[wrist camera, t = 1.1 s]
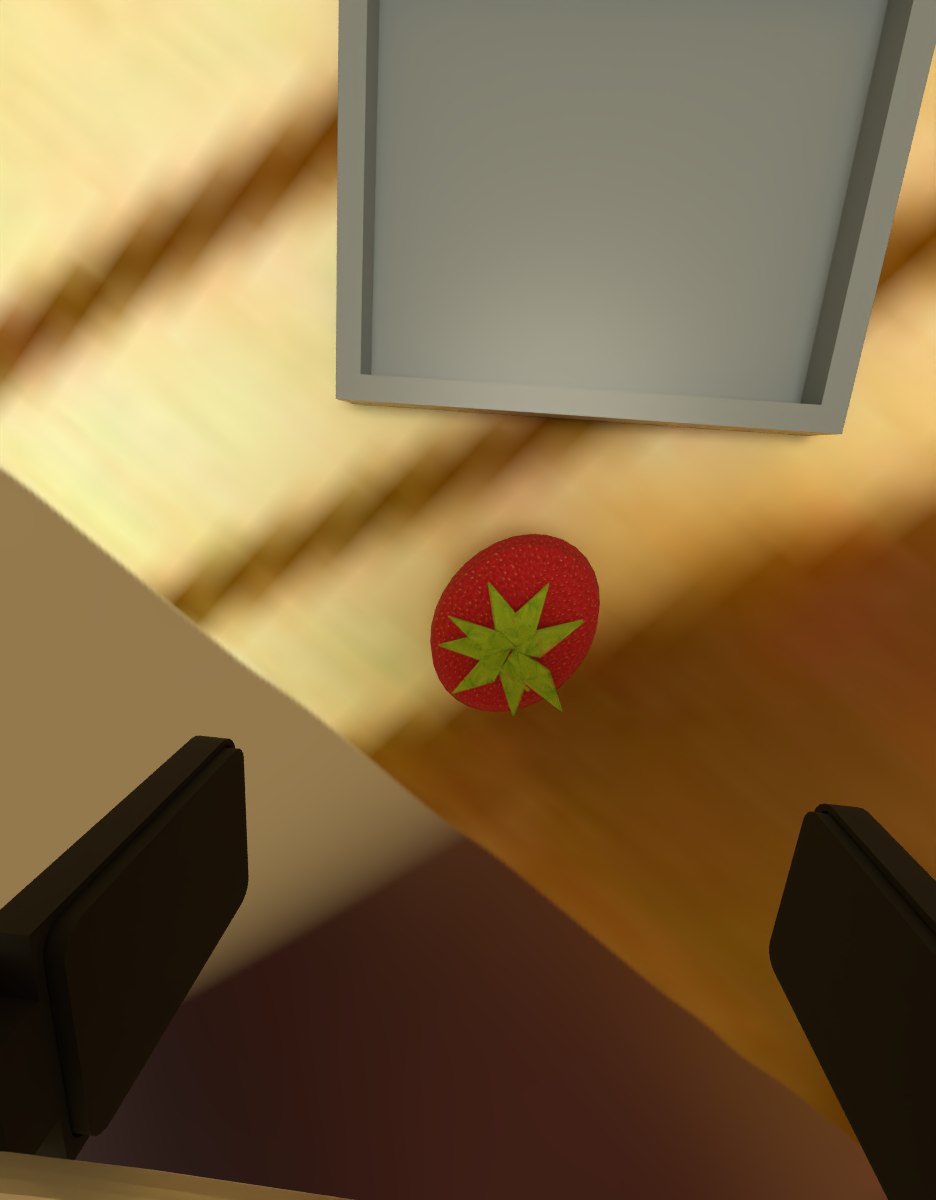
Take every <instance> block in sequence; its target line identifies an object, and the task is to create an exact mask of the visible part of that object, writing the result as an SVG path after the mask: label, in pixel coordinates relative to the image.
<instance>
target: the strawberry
mask: <svg viewBox="0 0 936 1200" xmlns="http://www.w3.org/2000/svg"><path fill="white" fill-rule="evenodd" d="M599 605H600V601H599V586H598V583H597V579H596V576H595V572H594V570H593V569H592V567H591V565H590V563H589V562H588V560H587V558H586V557H585V556H584V555H583V554H582V553H581V552H580V551H579V550H578V549H577V548H576V547H574V546H572V545H571V544H569V543H567V542H566V541H564V540H562V539H559V538H555V537H552V536H548V535H537V534H528V535H521V536H515V537H511V538H508V539H505V540H503V541H500V542H497V543H495V544H493V545H491V546H489V547H488V548H486V549H484V550H482V551H481V552H479V553H478V554H477V555H475V556H474V557H473V558H472V559H470V560H469V561H468V562H467V563H465V564H464V566H463V567H462V568H461V569H460V570H459V571H458V572H457V573H456V574H455V575H454V577H453V578H452V579H451V581H450V582H449V584H448V585H447V587H446V589H445V590H444V592H443V593H442V596H441V598H440V600H439V602H438V605H437V607H436V609H435V613H434V617H433V621H432V625H431V640H430V643H431V650H432V657H433V664H434V667H435V670H436V673H437V675H438V678H439V680H440V681H441V683H442V684H443V686H444V687H445V689H446V690H447V691H448V692H449V693H450V694H451V695H452V696H453V697H454V698H455V699H456V700H458V701H460V702H462V703H463V704H465V705H467V706H469V707H472V708H475V709H479V710H482V711H493V712H501V711H510V710H511V713H512V716H514V715H515V713H516V711H517V709H519V708H522V707H525V706H529V705H531V704H533V703H535V702H537V701H539V700H541V699H543V698H544V699H545V700H547V701H548V702H549V703H551V704H552V705H553V706H555V707H556V708H557V709H558V710H560V711H561V712H562V711H563V709H562V706H561V703H560V700H559V697H558V694H557V691H556V689H558V688H559V687H560V686H561V685H562V684H563V683H564V682H565V681H566V680H567V679H568V678H569V677H571V676H572V674H573V673H574V672H575V670H576V669H577V668H578V666H579V665H580V664H581V662H582V661H583V659H584V657H585V656H586V654H587V652H588V650H589V648H590V646H591V644H592V641H593V638H594V635H595V632H596V628H597V621H598V614H599Z"/></svg>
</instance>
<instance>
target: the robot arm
mask: <svg viewBox="0 0 936 1200" xmlns="http://www.w3.org/2000/svg"><path fill="white" fill-rule="evenodd" d="M247 886H248V854H247V829H246V804H245V778H244V756H243V752H242V750H240V749H236V748H235V745H234V743H233V741H232V740H231V739H226V738H217V737H207V736H195V737H193V738H192V739H191V740H189V741H188V742H187V743H186V744H185V745H184V746H183V747H182V748H180V749H179V750H178V751H177V752H176V753H175V754H174V755H173V756H172V757H171V758H169V759H168V760H167V761H166V762H165V763H164V764H163V765H161V766H160V767H159V768H158V769H157V770H156V771H155V772H154V773H153V774H151V775H150V776H149V777H148V778H147V779H146V780H145V781H144V782H143V783H141V784H140V785H139V786H138V787H137V788H136V789H135V790H134V791H133V792H131V793H130V794H129V795H128V796H127V797H126V798H125V799H123V800H122V801H121V802H120V803H119V804H118V805H117V806H116V807H115V808H113V809H112V810H111V811H110V812H109V813H108V814H107V815H106V816H104V817H103V819H101V820H100V821H99V822H98V823H97V824H96V825H94V826H93V827H92V828H91V829H90V830H89V831H88V832H87V833H86V834H84V835H83V836H82V837H81V838H80V839H79V840H78V841H77V842H75V843H74V844H73V845H72V846H71V847H70V848H69V849H68V850H67V851H65V852H64V853H63V854H62V855H61V856H60V857H59V858H58V859H56V860H55V861H54V862H53V863H52V864H51V865H50V866H49V867H47V868H46V869H45V870H44V871H43V872H42V873H41V874H40V875H39V876H37V877H36V878H35V879H34V880H33V881H32V882H31V883H30V884H29V885H27V886H26V887H25V888H24V889H23V890H22V891H21V892H20V893H18V894H17V895H16V896H15V897H14V898H13V899H12V900H11V901H10V902H8V903H7V904H6V905H5V906H4V907H3V908H2V909H1V910H0V1200H351V1199H344V1198H337V1197H331V1196H323V1195H317V1194H311V1193H304V1192H297V1191H290V1190H283V1189H277V1188H270V1187H263V1186H256V1185H250V1184H243V1183H237V1182H230V1181H223V1180H216V1179H210V1178H202V1177H196V1176H190V1175H182V1174H176V1173H169V1172H163V1171H156V1170H148V1169H140V1168H132V1167H124V1166H116V1165H108V1164H100V1163H92V1162H84V1161H76V1160H75V1159H76V1157H77V1155H78V1154H79V1152H80V1151H81V1149H82V1147H83V1146H84V1144H85V1143H86V1141H87V1139H88V1138H89V1136H90V1135H91V1136H97V1135H99V1134H101V1133H102V1132H103V1131H104V1129H105V1128H106V1127H107V1126H108V1124H109V1123H110V1121H111V1120H112V1119H113V1117H114V1115H115V1114H116V1112H117V1110H118V1109H119V1107H120V1105H121V1103H122V1102H123V1100H124V1098H125V1097H126V1095H127V1094H128V1092H129V1090H130V1089H131V1087H132V1085H133V1084H134V1081H135V1080H136V1078H137V1077H138V1075H139V1074H140V1072H141V1070H142V1069H143V1067H144V1065H145V1063H146V1062H147V1060H148V1059H149V1057H150V1055H151V1054H152V1052H153V1050H154V1048H155V1047H156V1045H157V1044H158V1042H159V1040H160V1039H161V1037H162V1035H163V1033H164V1032H165V1030H166V1029H167V1027H168V1025H169V1023H170V1022H171V1020H172V1018H173V1017H174V1015H175V1014H176V1012H177V1010H178V1009H179V1007H180V1005H181V1004H182V1002H183V1000H184V998H185V997H186V995H187V994H188V992H189V990H190V989H191V987H192V985H193V984H194V982H195V980H196V979H197V977H198V975H199V974H200V972H201V970H202V968H203V967H204V965H205V963H206V962H207V960H208V958H209V957H210V955H211V954H212V952H213V950H214V949H215V947H216V945H217V944H218V942H219V940H220V938H221V937H222V935H223V934H224V932H225V930H226V929H227V927H228V925H229V924H230V922H231V920H232V918H233V917H234V915H235V914H236V912H237V910H238V909H239V907H240V905H241V903H242V901H243V899H244V897H245V894H246V891H247ZM769 955H770V961H771V965H772V968H773V970H774V972H775V974H776V976H777V978H778V980H779V982H780V984H781V986H782V988H783V990H784V992H785V994H786V996H787V998H788V1000H789V1002H790V1004H791V1006H792V1008H793V1010H794V1012H795V1014H796V1016H797V1018H798V1020H799V1022H800V1024H801V1026H802V1028H803V1030H804V1032H805V1034H806V1036H807V1038H808V1040H809V1042H810V1044H811V1046H812V1048H813V1050H814V1052H815V1054H816V1056H817V1058H818V1060H819V1062H820V1064H821V1066H822V1068H823V1070H824V1072H825V1074H826V1076H827V1078H828V1080H829V1082H830V1084H831V1086H832V1088H833V1090H834V1092H835V1094H836V1096H837V1098H838V1100H839V1102H840V1104H841V1106H842V1108H843V1110H844V1112H845V1114H846V1116H847V1118H848V1120H849V1122H850V1124H851V1126H852V1128H853V1130H854V1132H855V1134H856V1136H857V1138H858V1140H859V1142H860V1144H861V1146H862V1148H863V1150H864V1152H865V1154H866V1156H867V1158H868V1160H869V1162H870V1164H871V1166H872V1168H873V1170H874V1172H875V1174H876V1176H877V1178H878V1180H879V1182H880V1184H881V1186H882V1188H883V1190H884V1192H885V1194H886V1196H887V1198H888V1200H936V881H935V880H934V879H933V878H932V877H931V876H930V875H929V874H928V873H927V872H926V871H925V870H924V869H923V868H922V867H921V866H920V865H919V864H918V863H917V862H916V861H915V860H914V859H913V858H912V857H911V856H910V855H909V854H908V852H907V851H906V850H905V849H904V848H903V847H902V846H901V845H900V844H899V843H898V842H897V841H896V840H895V839H894V838H893V837H892V836H891V835H890V834H889V833H888V832H887V831H886V830H885V829H884V828H883V827H882V826H881V825H880V824H879V823H878V822H877V821H876V820H875V819H874V818H873V817H872V816H871V815H870V814H869V813H868V812H867V811H866V810H864V809H862V808H858V807H850V806H841V805H832V804H821V805H819V806H818V807H817V808H816V809H815V811H814V812H808V813H807V814H806V815H805V817H804V819H803V823H802V826H801V830H800V834H799V837H798V841H797V845H796V848H795V852H794V856H793V859H792V863H791V867H790V870H789V874H788V878H787V881H786V885H785V889H784V892H783V896H782V900H781V903H780V907H779V911H778V914H777V918H776V922H775V925H774V929H773V932H772V936H771V940H770V945H769Z"/></svg>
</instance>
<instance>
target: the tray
mask: <svg viewBox="0 0 936 1200" xmlns="http://www.w3.org/2000/svg"><path fill="white" fill-rule="evenodd" d="M935 44H936V0H339V50H338V183H337V315H336V399H339V400H342V401H345V402H349V403H352V404H363V405H378V406H392V407H406V408H420V409H435V410H449V411H463V412H477V413H492V414H506V415H520V416H534V417H549V418H563V419H577V420H592V421H606V422H620V423H634V424H649V425H663V426H677V427H691V428H706V429H720V430H734V431H748V432H763V433H777V434H791V435H805V436H813V435H832V434H842V431H843V427H844V423H845V419H846V415H847V410H848V406H849V402H850V398H851V394H852V390H853V385H854V381H855V377H856V373H857V369H858V365H859V360H860V356H861V352H862V348H863V344H864V340H865V335H866V331H867V327H868V323H869V319H870V315H871V310H872V306H873V302H874V298H875V294H876V290H877V286H878V281H879V277H880V273H881V269H882V265H883V261H884V256H885V252H886V248H887V244H888V240H889V236H890V231H891V227H892V223H893V219H894V215H895V211H896V206H897V202H898V198H899V194H900V190H901V186H902V181H903V177H904V173H905V169H906V165H907V161H908V156H909V152H910V148H911V144H912V140H913V136H914V131H915V127H916V123H917V119H918V115H919V111H920V106H921V102H922V98H923V94H924V90H925V86H926V81H927V77H928V73H929V69H930V65H931V61H932V56H933V52H934V48H935Z"/></svg>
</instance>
